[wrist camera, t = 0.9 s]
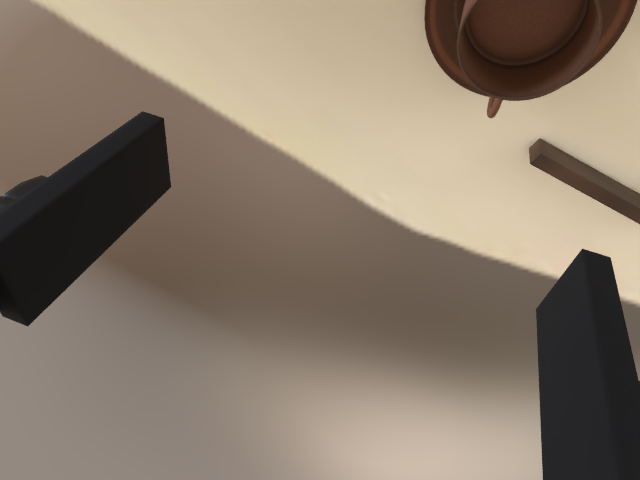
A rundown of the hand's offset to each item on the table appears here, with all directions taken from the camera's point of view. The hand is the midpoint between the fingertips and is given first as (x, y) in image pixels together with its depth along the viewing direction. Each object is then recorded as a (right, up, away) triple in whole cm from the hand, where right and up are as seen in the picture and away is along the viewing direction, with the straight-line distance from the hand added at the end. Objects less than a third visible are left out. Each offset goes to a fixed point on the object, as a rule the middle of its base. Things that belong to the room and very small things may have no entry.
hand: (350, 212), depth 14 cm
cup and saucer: (+12, +15, +15) cm, 24 cm away
